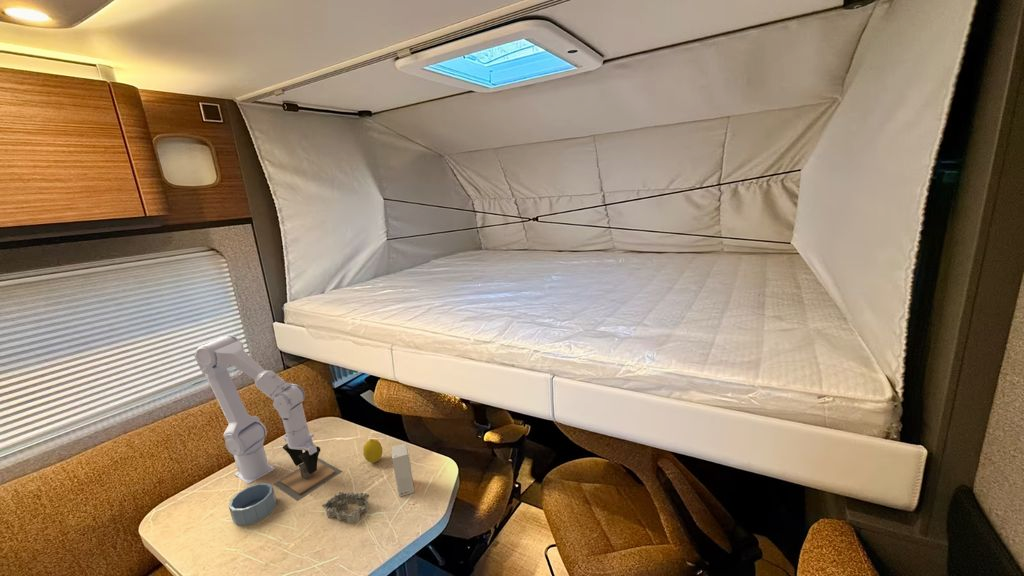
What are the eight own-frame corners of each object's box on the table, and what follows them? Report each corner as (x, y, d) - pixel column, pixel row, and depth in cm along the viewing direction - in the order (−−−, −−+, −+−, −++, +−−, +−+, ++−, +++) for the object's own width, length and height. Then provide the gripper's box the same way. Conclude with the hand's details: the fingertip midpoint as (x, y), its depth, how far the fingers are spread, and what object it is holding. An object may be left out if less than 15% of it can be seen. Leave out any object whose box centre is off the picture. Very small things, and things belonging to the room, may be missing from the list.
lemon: (378, 468, 127) (374, 445, 125) (362, 467, 128) (357, 444, 126) (387, 457, 132) (383, 434, 130) (371, 456, 133) (367, 434, 131)
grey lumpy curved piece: (373, 507, 111) (371, 493, 111) (352, 528, 105) (349, 514, 104) (344, 497, 116) (341, 484, 115) (322, 517, 109) (319, 504, 109)
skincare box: (414, 493, 115) (408, 454, 112) (398, 497, 114) (391, 459, 111) (413, 479, 120) (406, 442, 118) (398, 483, 119) (391, 446, 117)
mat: (273, 485, 124) (273, 484, 124) (317, 458, 135) (317, 457, 135) (297, 502, 116) (297, 500, 116) (342, 472, 127) (342, 471, 126)
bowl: (227, 517, 112) (222, 501, 111) (266, 493, 120) (262, 478, 119) (243, 532, 107) (239, 515, 106) (283, 506, 114) (279, 490, 113)
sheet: (280, 482, 124) (277, 469, 123) (315, 461, 133) (312, 448, 132) (299, 495, 118) (296, 481, 117) (335, 472, 126) (332, 459, 125)
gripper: (322, 426, 120) (332, 467, 123) (296, 414, 128) (306, 453, 132) (298, 439, 115) (309, 482, 118) (273, 426, 123) (283, 466, 126)
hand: (306, 467), depth 124 cm, fingers open, 7 cm apart
